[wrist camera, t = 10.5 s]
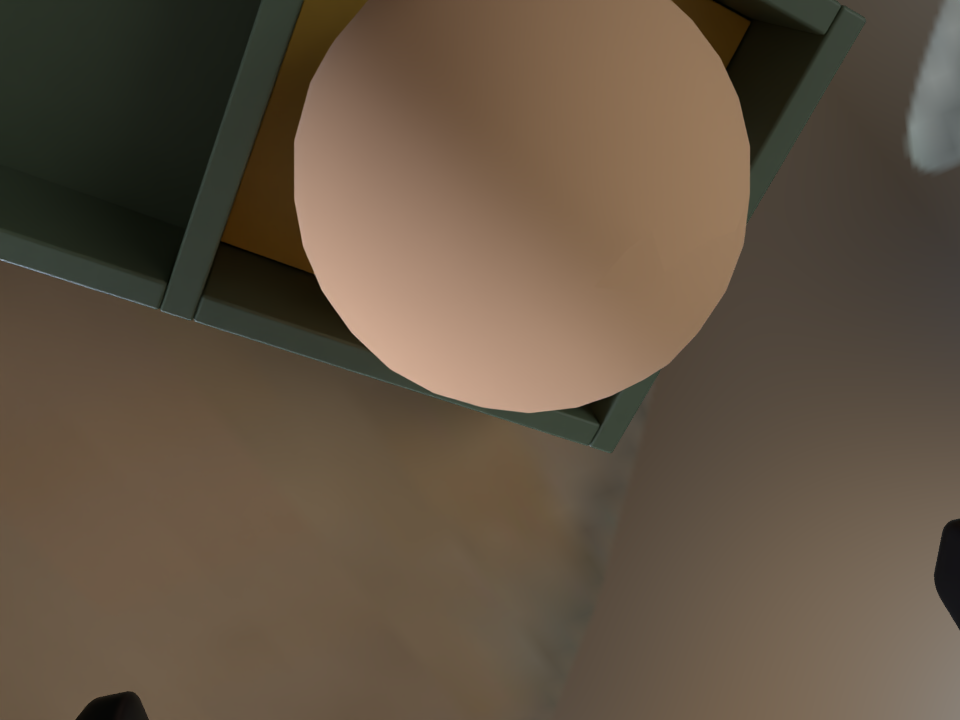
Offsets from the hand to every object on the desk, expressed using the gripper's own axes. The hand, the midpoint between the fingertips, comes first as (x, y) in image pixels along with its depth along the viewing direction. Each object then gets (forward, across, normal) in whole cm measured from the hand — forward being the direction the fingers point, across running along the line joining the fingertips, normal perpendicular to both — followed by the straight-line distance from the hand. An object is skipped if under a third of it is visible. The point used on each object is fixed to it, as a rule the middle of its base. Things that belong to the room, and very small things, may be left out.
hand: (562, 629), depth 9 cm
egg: (+11, -1, -3) cm, 12 cm away
